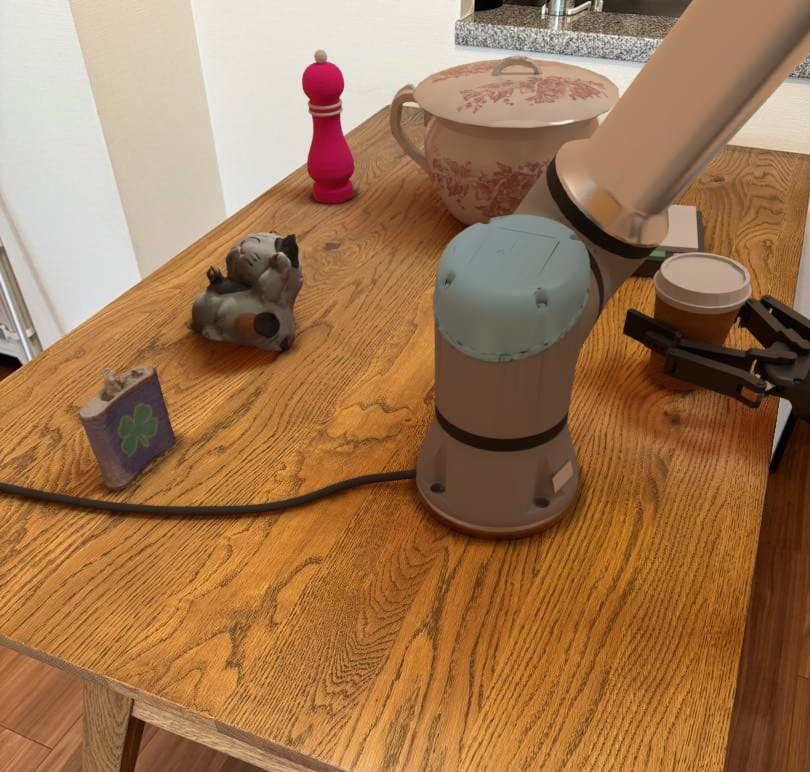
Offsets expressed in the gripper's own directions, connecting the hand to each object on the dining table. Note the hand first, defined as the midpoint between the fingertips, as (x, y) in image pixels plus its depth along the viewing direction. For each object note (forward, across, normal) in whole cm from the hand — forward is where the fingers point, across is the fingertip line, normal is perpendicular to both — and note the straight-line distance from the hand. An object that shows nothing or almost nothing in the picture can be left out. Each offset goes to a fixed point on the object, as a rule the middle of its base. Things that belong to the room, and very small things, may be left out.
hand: (657, 304), depth 84 cm
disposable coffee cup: (-4, 0, -7) cm, 8 cm away
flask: (+21, -52, -7) cm, 57 cm away
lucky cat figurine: (+34, -32, -7) cm, 47 cm away
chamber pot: (+38, +15, -7) cm, 42 cm away
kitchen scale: (+18, +21, -7) cm, 28 cm away
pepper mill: (+61, 0, -7) cm, 62 cm away
